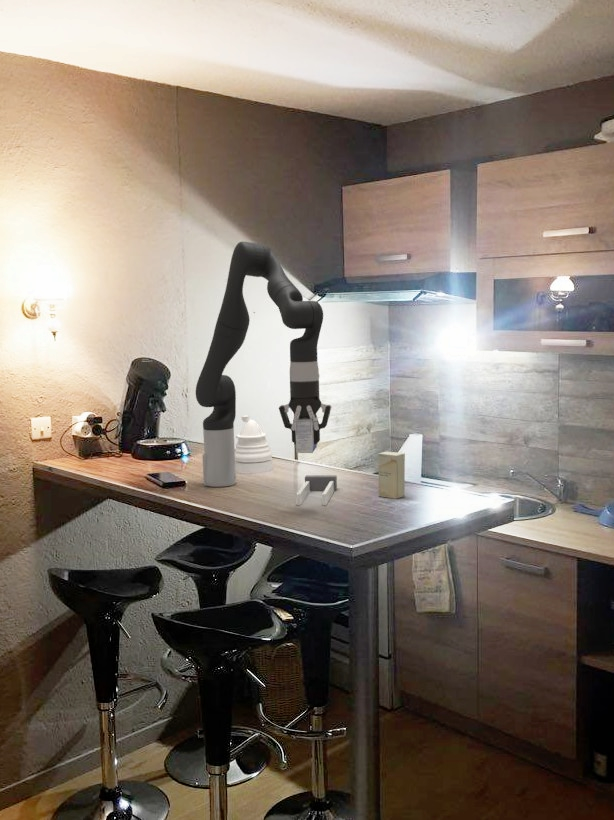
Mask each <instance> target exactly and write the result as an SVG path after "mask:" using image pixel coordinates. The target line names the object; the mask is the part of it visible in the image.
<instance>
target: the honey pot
mask: <svg viewBox="0 0 614 820" xmlns="http://www.w3.org/2000/svg"><path fill="white" fill-rule="evenodd" d="M240 417H241V421H242V422H244V423H245V424H244V426H243V427H242V429H241V432H240V433H238V434H236V435H235V436H236V437H235V438H236V439H237V443H236V444H235V469H236V474H237V473H238V474H243V475H244V474H249V475H250V474H262V473H263V474H264V473H268V472H271V471H272V470H273V453H272V451H271V448H270V446H269V443H268V440H267V438H266V437H267V434H266V433H264V432H263V430H262V428H261V426H260V425H259V424H258V422H256V421H255V420H254V419H250V416H249V415H241V416H240Z"/></svg>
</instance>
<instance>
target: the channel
mask: <svg viewBox="0 0 614 820" xmlns="http://www.w3.org/2000/svg"><path fill="white" fill-rule="evenodd" d="M337 490H338V476H337V475H336V474H335V475H334V474H332V475H330V474H329V475H327V474H325V475H322V474H321V475H318V474H317V475H315V474H314V475H313V474H311V475H305V476H304V484H303V485H302V486H301V488H300V489H299V490H298V491H297V493H296V506H301V505H302V503H303V502H304V501H305V499H306V498H307V496H308V495H309V494H310V491H313V492H314V491H315V492H316V491H317V492H319V491H320V492H322V493H321V500H322V506H327V504H328V502H329V501H330V499H331V498H332V495H333V494H334V492H336V491H337Z"/></svg>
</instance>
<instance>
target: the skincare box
mask: <svg viewBox="0 0 614 820" xmlns="http://www.w3.org/2000/svg"><path fill="white" fill-rule="evenodd" d="M405 456H406V454H405V453H403V452H396V451H383V452H379V453H378V497H383V498H389V499H394V500H395V499H397V500H398V499H400V498H403V497H405V492H406V491H405V487H406V486H405V483H406V480H405V475H406V474H405V473H406V470H405V469H406V468H405V467H406V466H405V464H406V463H405V462H406V461H405V458H406V457H405Z"/></svg>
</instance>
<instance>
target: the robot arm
mask: <svg viewBox="0 0 614 820" xmlns="http://www.w3.org/2000/svg"><path fill="white" fill-rule="evenodd" d="M281 265H282V264H281V263H280V262H279V260H278V257H277V256H276V254H275V252H274V251H273V250H272V248H271V247H270V246H268V245H266V244H263V243H256V242H249V241H239V242H237V244H236V246H235V247H234V250H233V251H232V255H231V260H230V265H229V270H228V274H227V275H228V276H227V281H226V285H225V286H226V287H225V290H224V295H223V299H222V303H221V307H220V310H219V312H218V315H217V320H216V324H215V327H214V331H213V336H212V339H211V342H210V346H209V349H208V353H207V355H206V359H205V361H204V364H203V367H202V369H201V371H200V374H199V376H198V379H197V382H196V385H195V398H196V401H197V403H198V405H200V406H201V407H203V408H213V410H212V412H211V413H210V414H209V415H208V416H207V417H205V418H204V419H203V421H202V428H203V429H202V431H203V450H204V451H203V454H202V473H203V474H202V476H203V486H204V487H213V488H216V487H217V488H219V487H223V488H224V487H230V486H233V485H236V484H237V472H236V469H235V449H236V446H235V428H234V427H235V425H234V424H235V420H236V417H237V415H236V411H237V410H236V405H237V404H236V401H237V400H236V399H237V397H236V396H237V395H236V394H237V392H236V386H235V384H234V383H235V382H234V381H233V379H232V378H231V377H230V376H228V375H226V374H223V373H224V370H225V368H226V367H227V366H228V364H229V362H230V361H231V360H232V359H233V357H234V356H235V355H236V354H237V353H238V351H239V350H240V348H241V347H242V345H244V342H245V340H246V336H247V333H248V330H249V326H250V314H249V310H248V307H247V304H246V302H245V297H244V292H243V288H244V284H245V283H244V282H245V279H246V277H247V276H248V277H255V278H259V277H260V278H263V279H265V280H266V281H267V284H266V285H267V286H266V289H267V294H268V296H269V298H270V299H271V300H272V302H273V303H274V305H276V306H277V307H278V310H279V313H280V317H281V321H282V323H283V325H284V326H285V327H287V328H288V329H291V330H300V329H301V330H302V329H303V330H304V329H305V330H304V333H303V334H302V336H300V337H296V338H294V339H292V340H291V341H290V342H289V360H290V362H289V393H290V396H289V397H290V398H289V402H288V403H287V404H281V405H280V406H279V407H278V410H279V413H280V416H281V419H282V423H283V426H284V428H285V429H289V430H290V432H291V442H292V443H294V445H295V446H296V432H295V421H296V420H298V419H299V418H310V419H312V420H313V426H314V431H313V433H314V445H318V443H319V442H321V430H322V429H325V428H326V427H327V425H328V422H329V418H330V414H331V410H332V405H331V404H326V403H325V404H324V403H322V401H321V399H320V373H319V372H320V371H319V370H320V369H319V362H318V344H319V343H318V342H319V338H320V333H321V330H322V327H323V326H322V325H323V321H324V310H323V307H322V305H321V304H320V303H319V302H318V301H317V300H304V299H303V294H302V293H301V291H300V290H299V289H298V288H297V286H295V284H294V283H293V282H292V281H291V279H289V278H288V276H287V275H286V273H285V271H284V268H283V267H282V266H281ZM289 409H290V410H291V411H292V412H293V414H294V417H293V420H292V423H291V421H290V417H289V414H288V413H289ZM320 409H321V412H322V413H323V416H322V421H321V423H320V422H319V418H318V416H317V413H318V411H319V410H320Z"/></svg>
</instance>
